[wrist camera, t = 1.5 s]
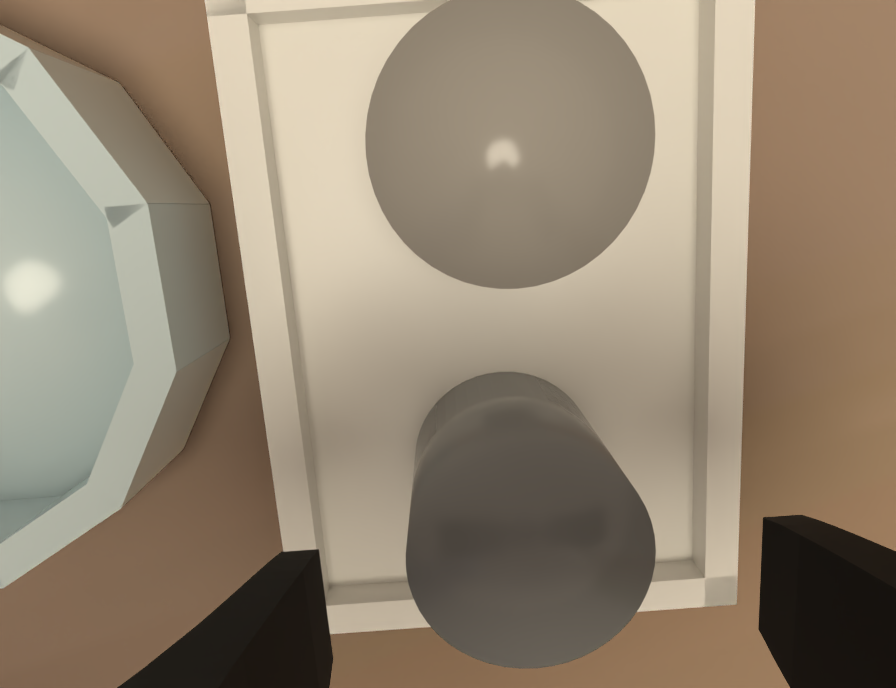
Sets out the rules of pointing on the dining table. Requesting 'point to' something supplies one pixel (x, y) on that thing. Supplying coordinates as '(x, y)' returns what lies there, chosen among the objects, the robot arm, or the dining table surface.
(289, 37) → the parts tray
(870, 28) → the dining table surface
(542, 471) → the slate capsule
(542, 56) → the grey rounded cylinder
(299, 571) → the robot arm
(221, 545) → the dining table surface
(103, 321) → the bowl
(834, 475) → the dining table surface
